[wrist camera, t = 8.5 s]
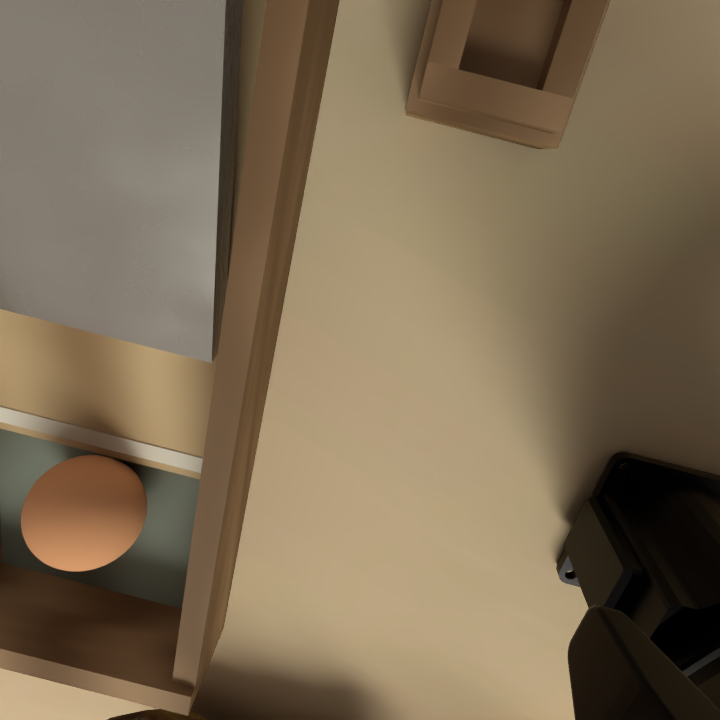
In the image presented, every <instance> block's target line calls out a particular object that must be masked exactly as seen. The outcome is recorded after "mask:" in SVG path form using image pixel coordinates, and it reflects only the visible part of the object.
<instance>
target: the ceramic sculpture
mask: <svg viewBox="0 0 720 720" xmlns="http://www.w3.org/2000/svg"><path fill="white" fill-rule="evenodd" d="M108 720H208V719H206V718H205V717H203V716H201V715H199V714H197V713H195V712H193V711H190V712H189V715H188V716H187V715H183V714H179V713H175V712H171V711H167V710H163V709H155V710H145V711H140V712H135V713H131V714H126V715H121V716H117V717H113V718H109V719H108Z"/></svg>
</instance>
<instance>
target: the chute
mask: <svg viewBox="0 0 720 720" xmlns="http://www.w3.org/2000/svg"><path fill="white" fill-rule="evenodd" d="M242 10H243V0H0V309H2V310H6V311H10V312H14V313H18V314H21V315H25V316H29V317H33V318H37V319H41V320H45V321H49V322H53V323H57V324H61V325H65V326H68V327H72V328H76V329H80V330H84V331H88V332H92V333H96V334H100V335H104V336H108V337H111V338H115V339H119V340H123V341H127V342H131V343H135V344H139V345H143V346H147V347H151V348H155V349H158V350H162V351H166V352H170V353H174V354H178V355H182V356H186V357H190V358H194V359H198V360H202V361H205V362H209V363H212V362H213V360H214V359H215V357H216V356H217V354H218V347H219V340H220V333H221V326H222V319H223V311H224V304H225V297H226V290H227V279H228V261H229V243H230V225H231V207H232V189H233V171H234V154H235V136H236V118H237V100H238V82H239V64H240V46H241V28H242Z"/></svg>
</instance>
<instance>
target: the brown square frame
mask: <svg viewBox="0 0 720 720" xmlns="http://www.w3.org/2000/svg"><path fill="white" fill-rule="evenodd" d="M609 3H610V0H432V1H431V5H430V9H429V13H428V18H427V22H426V26H425V30H424V34H423V38H422V42H421V46H420V51H419V55H418V59H417V63H416V67H415V71H414V75H413V79H412V84H411V88H410V92H409V96H408V100H407V104H406V108H405V110H406V115H407V116H411V117H415V118H419V119H423V120H427V121H431V122H435V123H439V124H442V125H446V126H450V127H454V128H458V129H462V130H466V131H470V132H474V133H478V134H482V135H486V136H489V137H493V138H497V139H501V140H505V141H509V142H513V143H517V144H521V145H525V146H529V147H533V148H536V149H547V148H558V146H559V144H560V141H561V138H562V135H563V132H564V130H565V127H566V124H567V121H568V118H569V115H570V113H571V110H572V107H573V104H574V101H575V99H576V96H577V93H578V90H579V87H580V84H581V82H582V79H583V76H584V73H585V70H586V68H587V65H588V62H589V59H590V56H591V53H592V51H593V48H594V45H595V42H596V39H597V37H598V34H599V31H600V28H601V25H602V22H603V20H604V17H605V14H606V11H607V8H608V6H609Z"/></svg>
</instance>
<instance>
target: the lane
mask: <svg viewBox="0 0 720 720" xmlns="http://www.w3.org/2000/svg"><path fill="white" fill-rule="evenodd" d="M338 5H339V0H243V10H242V28H241V46H240V64H239V82H238V100H237V118H236V136H235V154H234V171H233V189H232V207H231V225H230V243H229V261H228V279H227V290H226V297H225V304H224V311H223V319H222V326H221V333H220V340H219V347H218V354H217V356H216V357H215V359H214V360H213V362H212V363H209V362H205V361H202V360H198V359H194V358H190V357H186V356H182V355H178V354H174V353H170V352H166V351H162V350H158V349H155V348H151V347H147V346H143V345H139V344H135V343H131V342H127V341H123V340H119V339H115V338H111V337H108V336H104V335H100V334H96V333H92V332H88V331H84V330H80V329H76V328H72V327H68V326H65V325H61V324H57V323H53V322H49V321H45V320H41V319H37V318H33V317H29V316H25V315H21V314H18V313H14V312H10V311H6V310H2V309H0V668H3V669H7V670H10V671H14V672H18V673H22V674H26V675H30V676H34V677H38V678H42V679H46V680H50V681H54V682H57V683H61V684H65V685H69V686H73V687H77V688H81V689H85V690H89V691H93V692H97V693H100V694H104V695H108V696H112V697H116V698H120V699H124V700H128V701H132V702H136V703H140V704H144V705H147V706H151V707H155V708H159V709H163V710H167V711H171V712H175V713H179V714H183V715H187V716H188V715H189V712H190V710H191V707H192V705H193V702H194V700H195V697H196V695H197V693H198V690H199V688H200V685H201V683H202V680H203V678H204V675H205V673H206V670H207V668H208V665H209V663H210V660H211V658H212V655H213V653H214V650H215V648H216V645H217V643H218V640H219V638H220V635H221V633H222V630H223V627H224V622H225V616H226V611H227V606H228V600H229V595H230V589H231V584H232V579H233V573H234V568H235V562H236V557H237V552H238V546H239V541H240V535H241V530H242V524H243V519H244V514H245V508H246V503H247V497H248V492H249V487H250V481H251V476H252V470H253V465H254V460H255V454H256V449H257V443H258V438H259V432H260V427H261V422H262V416H263V411H264V405H265V400H266V395H267V389H268V384H269V378H270V373H271V367H272V362H273V357H274V351H275V346H276V340H277V335H278V330H279V324H280V319H281V313H282V308H283V303H284V297H285V292H286V286H287V281H288V275H289V270H290V265H291V259H292V254H293V248H294V243H295V238H296V232H297V227H298V221H299V216H300V211H301V205H302V200H303V194H304V189H305V183H306V178H307V173H308V167H309V162H310V156H311V151H312V146H313V140H314V135H315V129H316V124H317V119H318V113H319V108H320V102H321V97H322V91H323V86H324V81H325V75H326V70H327V64H328V59H329V54H330V48H331V43H332V37H333V32H334V27H335V21H336V16H337V10H338ZM85 455H100V456H106V457H110V458H114V459H116V460H118V461H120V462H122V463H124V464H125V465H127V466H128V467H129V468H131V469H132V470H133V471H134V472H135V473H136V474H137V476H138V477H139V479H140V480H141V482H142V484H143V486H144V489H145V492H146V497H147V515H146V520H145V523H144V526H143V528H142V531H141V532H140V534H139V536H138V538H137V539H136V541H135V542H134V543H133V545H132V546H131V547H130V548H129V549H128V550H127V551H126V552H125V553H124V554H122V555H121V556H120V557H118V558H117V559H116V560H114V561H112V562H110V563H108V564H106V565H104V566H102V567H99V568H96V569H92V570H87V571H64V570H60V569H56V568H53V567H51V566H49V565H47V564H45V563H43V562H42V561H41V560H39V559H38V558H37V557H36V556H35V555H34V554H33V553H32V552H31V550H30V549H29V548H28V546H27V544H26V542H25V540H24V537H23V534H22V528H21V513H22V508H23V504H24V501H25V499H26V497H27V494H28V493H29V491H30V490H31V488H32V486H33V485H34V483H35V482H36V481H37V480H38V479H39V478H40V477H41V476H42V475H43V474H44V473H45V472H46V471H48V470H49V469H51V468H52V467H54V466H55V465H57V464H59V463H61V462H63V461H65V460H68V459H71V458H75V457H78V456H85Z"/></svg>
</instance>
